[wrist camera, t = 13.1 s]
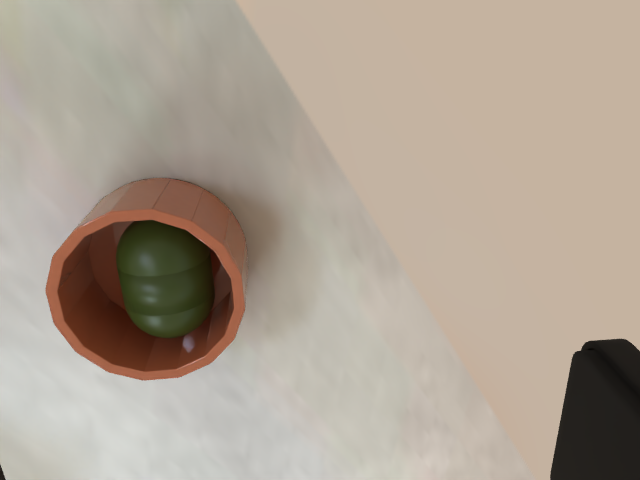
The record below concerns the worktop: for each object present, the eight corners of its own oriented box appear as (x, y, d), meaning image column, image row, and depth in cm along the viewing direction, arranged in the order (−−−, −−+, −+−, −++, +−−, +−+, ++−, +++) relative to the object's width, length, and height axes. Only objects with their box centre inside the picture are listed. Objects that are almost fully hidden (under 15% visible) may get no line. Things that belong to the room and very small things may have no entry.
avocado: (109, 205, 32) (105, 236, 27) (199, 194, 33) (210, 222, 29) (131, 318, 35) (131, 364, 30) (213, 304, 36) (225, 345, 31)
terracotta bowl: (67, 182, 32) (25, 216, 27) (239, 172, 33) (234, 203, 27) (99, 330, 36) (69, 387, 31) (254, 318, 37) (251, 371, 31)
